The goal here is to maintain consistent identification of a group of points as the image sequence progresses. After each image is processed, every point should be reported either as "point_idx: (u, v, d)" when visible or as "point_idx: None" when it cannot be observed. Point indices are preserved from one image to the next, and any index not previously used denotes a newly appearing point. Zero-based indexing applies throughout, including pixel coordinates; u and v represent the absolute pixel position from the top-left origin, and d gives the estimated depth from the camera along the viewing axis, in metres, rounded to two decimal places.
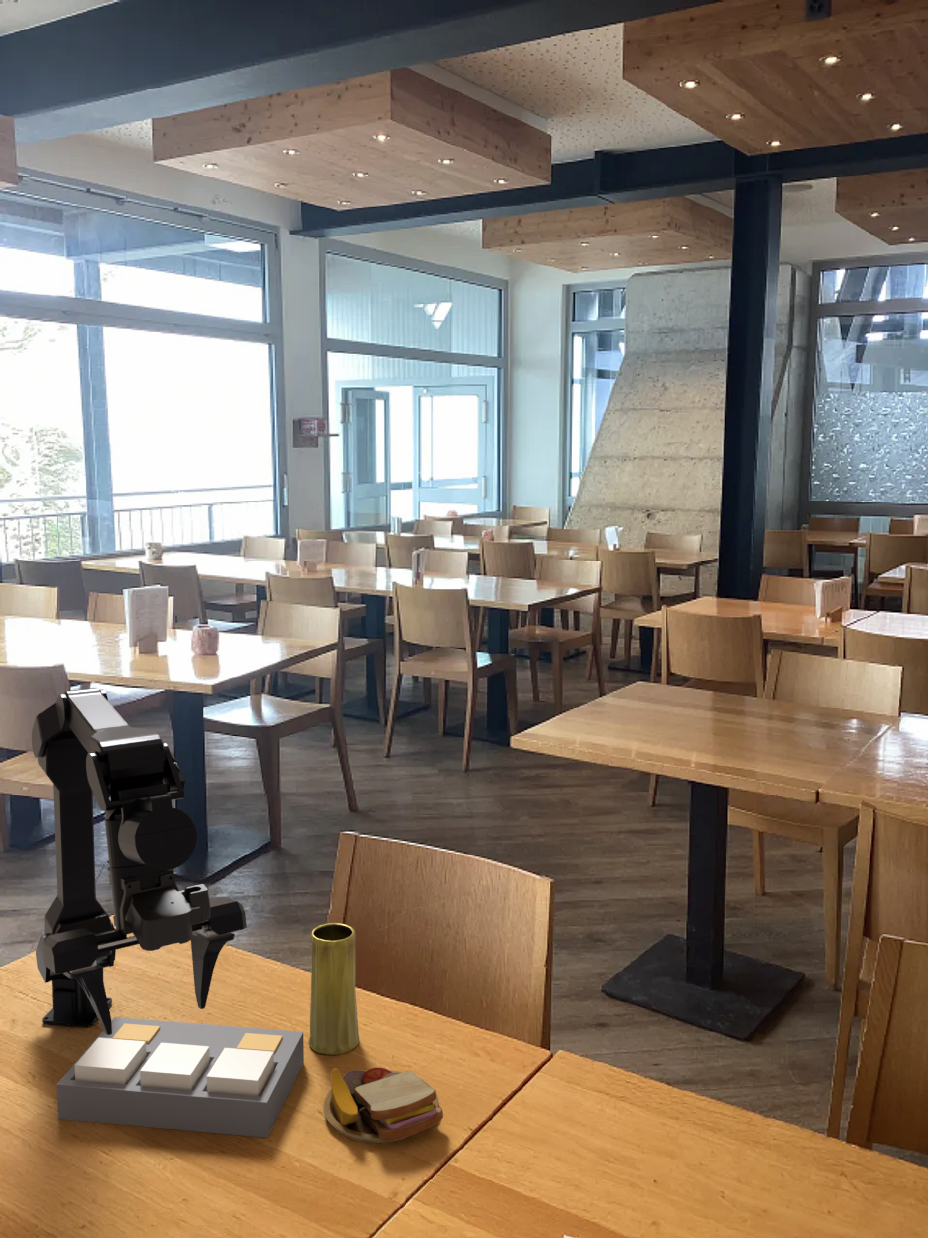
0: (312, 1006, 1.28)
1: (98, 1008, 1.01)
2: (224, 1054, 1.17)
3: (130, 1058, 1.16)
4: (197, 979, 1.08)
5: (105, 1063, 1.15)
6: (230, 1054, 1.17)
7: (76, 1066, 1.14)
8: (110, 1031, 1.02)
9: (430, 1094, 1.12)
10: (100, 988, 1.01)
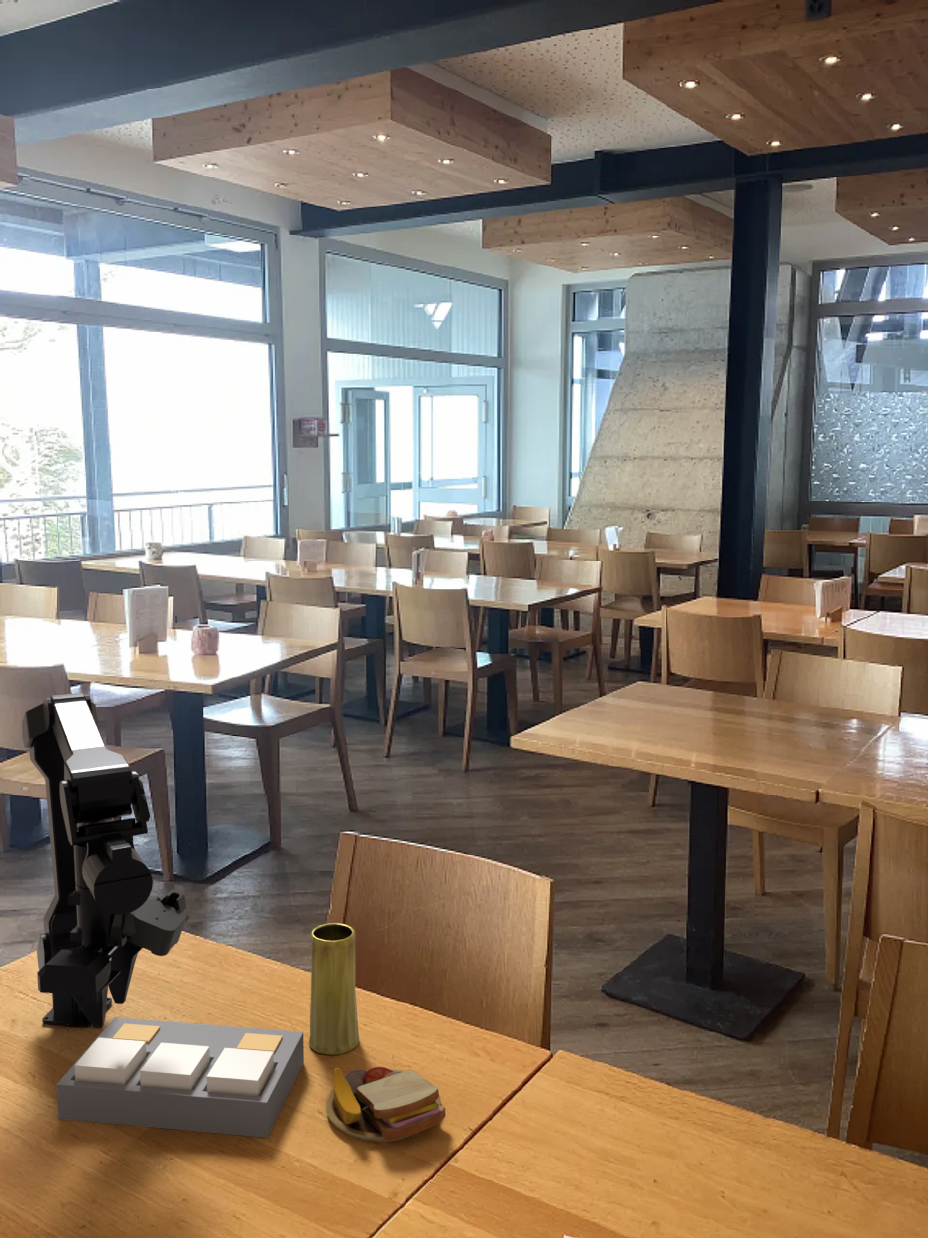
0: (312, 1006, 1.28)
1: (102, 1007, 1.12)
2: (224, 1054, 1.17)
3: (130, 1058, 1.16)
4: (116, 979, 1.18)
5: (105, 1063, 1.15)
6: (230, 1054, 1.17)
7: (76, 1066, 1.14)
8: None
9: (433, 1093, 1.12)
10: (106, 989, 1.12)
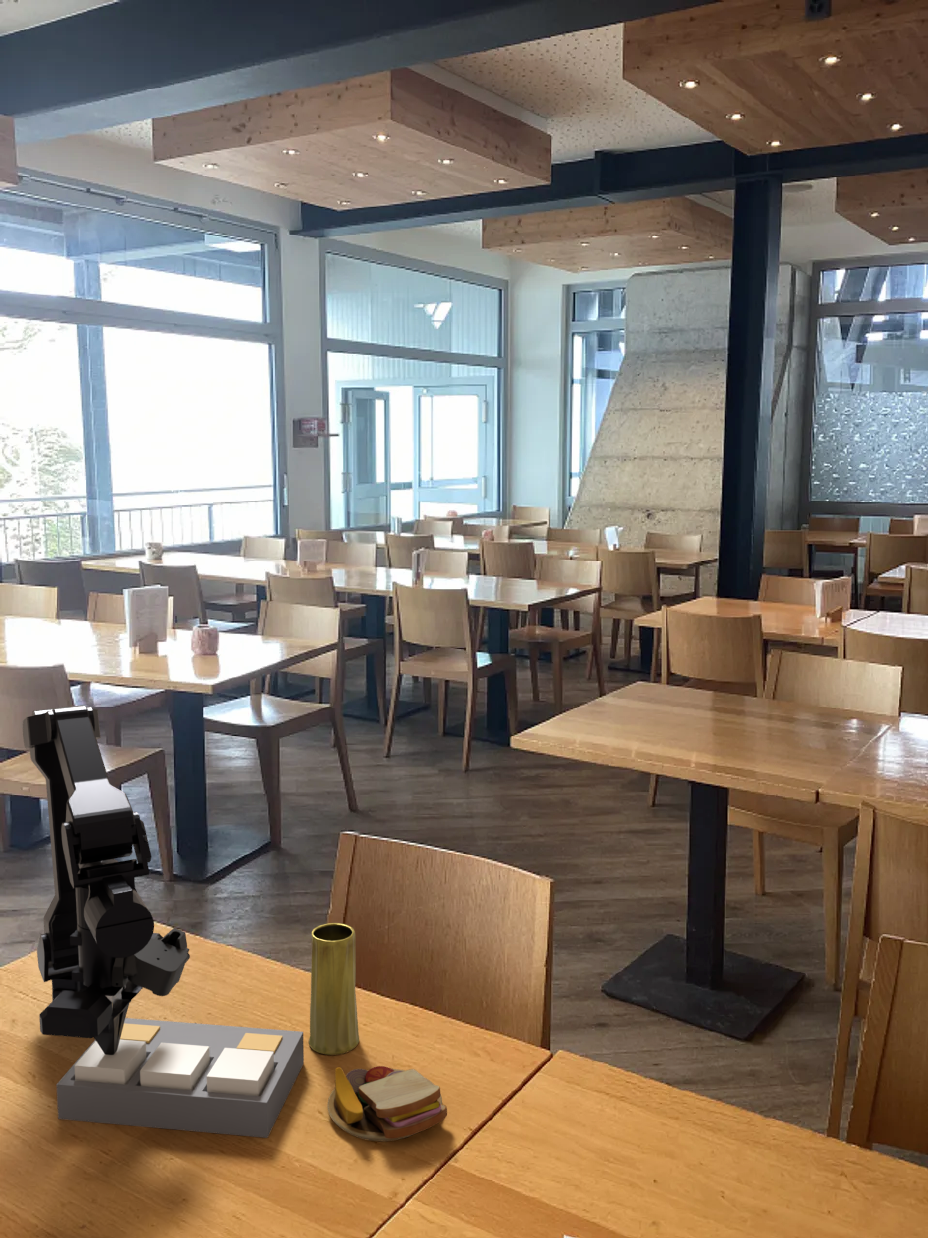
0: (312, 1006, 1.28)
1: (114, 1035, 1.15)
2: (224, 1054, 1.17)
3: (130, 1058, 1.16)
4: None
5: (105, 1063, 1.15)
6: (230, 1054, 1.17)
7: (76, 1066, 1.14)
8: (115, 1051, 1.17)
9: (435, 1092, 1.12)
10: (118, 1018, 1.15)
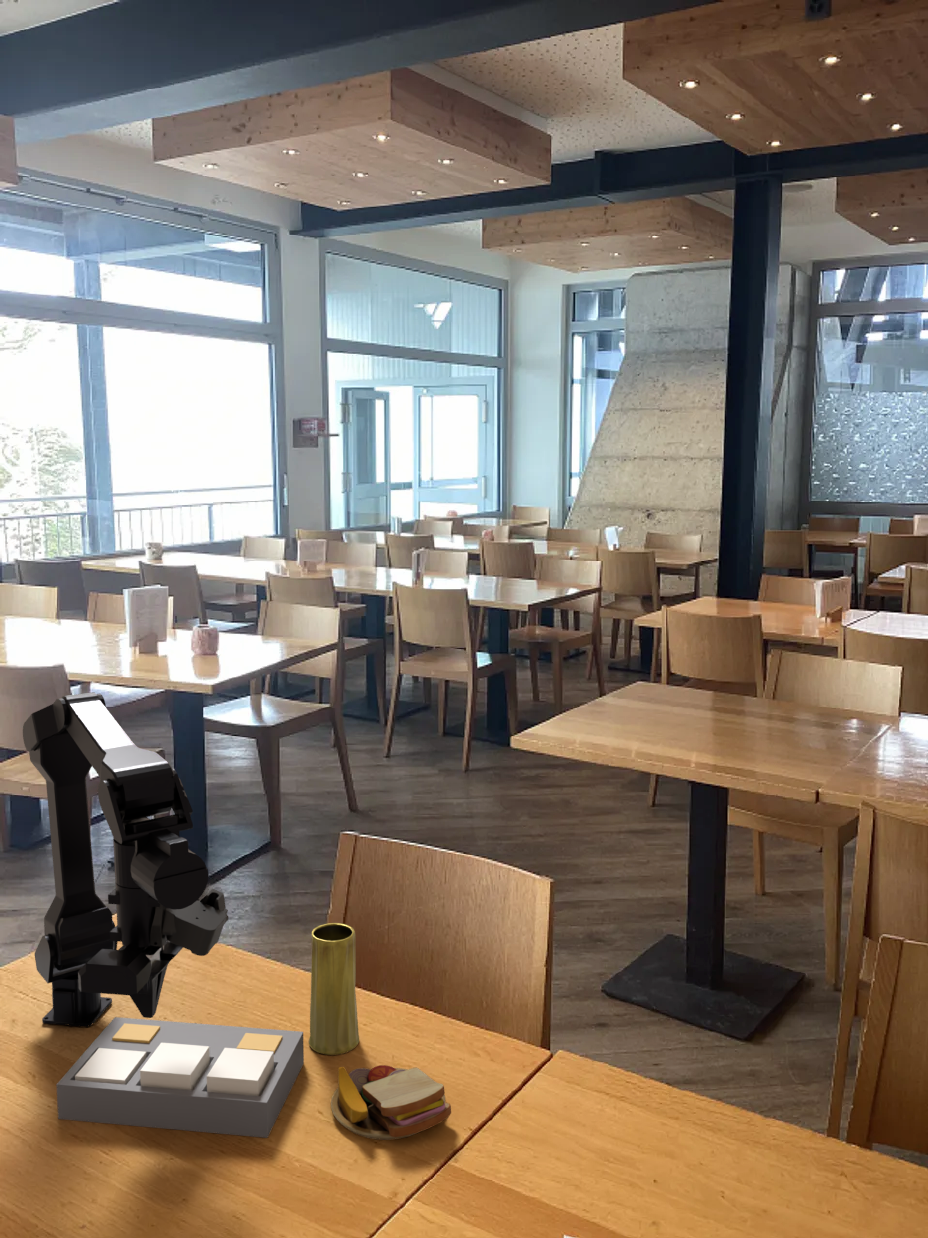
0: (312, 1006, 1.28)
1: (152, 996, 1.14)
2: (224, 1054, 1.17)
3: (130, 1069, 1.16)
4: None
5: (106, 1074, 1.15)
6: (230, 1054, 1.17)
7: (77, 1077, 1.15)
8: (153, 1014, 1.15)
9: (439, 1090, 1.13)
10: (156, 979, 1.13)
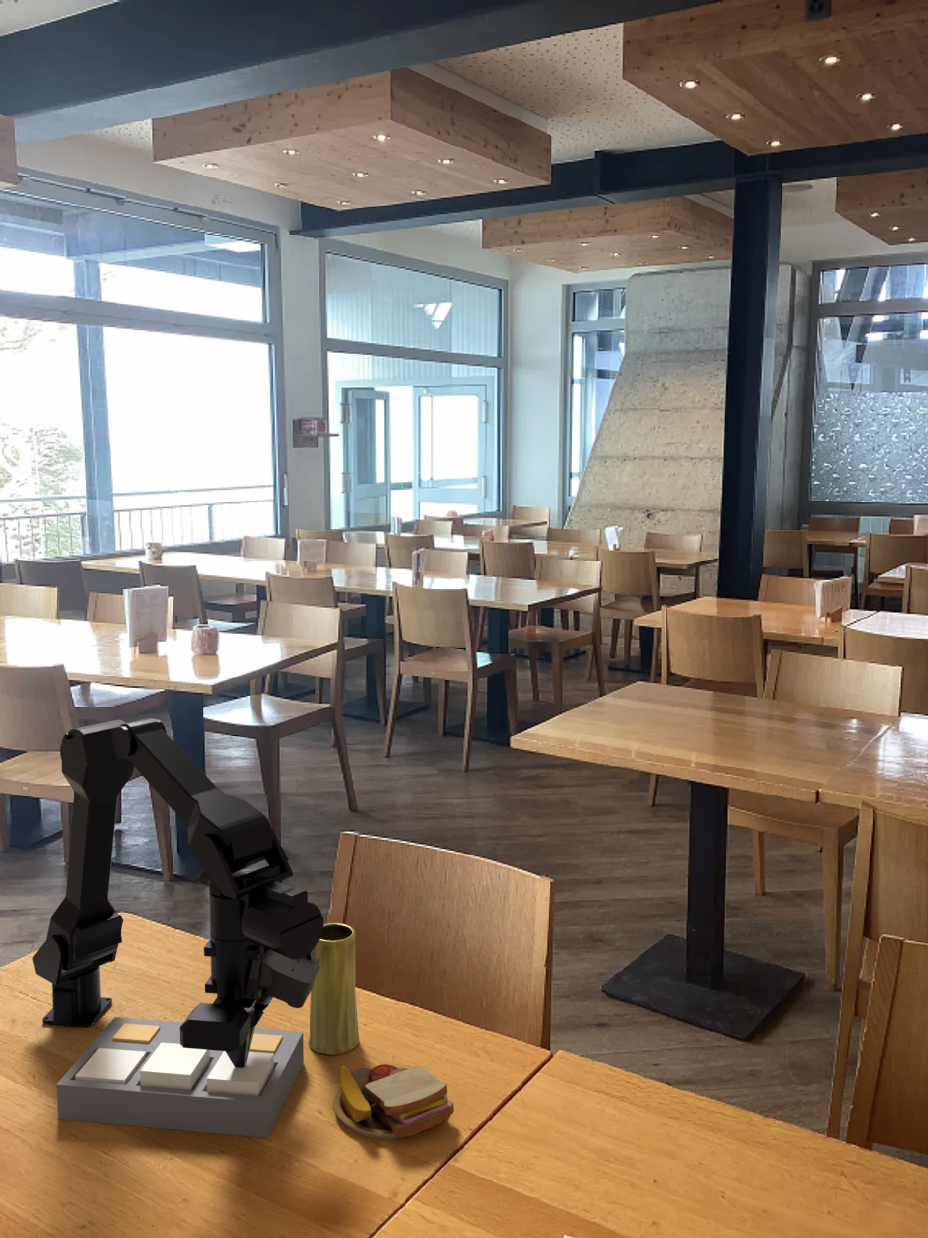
0: (312, 1006, 1.28)
1: (245, 1047, 1.13)
2: (224, 1056, 1.17)
3: (130, 1069, 1.16)
4: None
5: (106, 1074, 1.15)
6: None
7: (77, 1077, 1.15)
8: (245, 1064, 1.15)
9: (442, 1088, 1.13)
10: (249, 1030, 1.13)
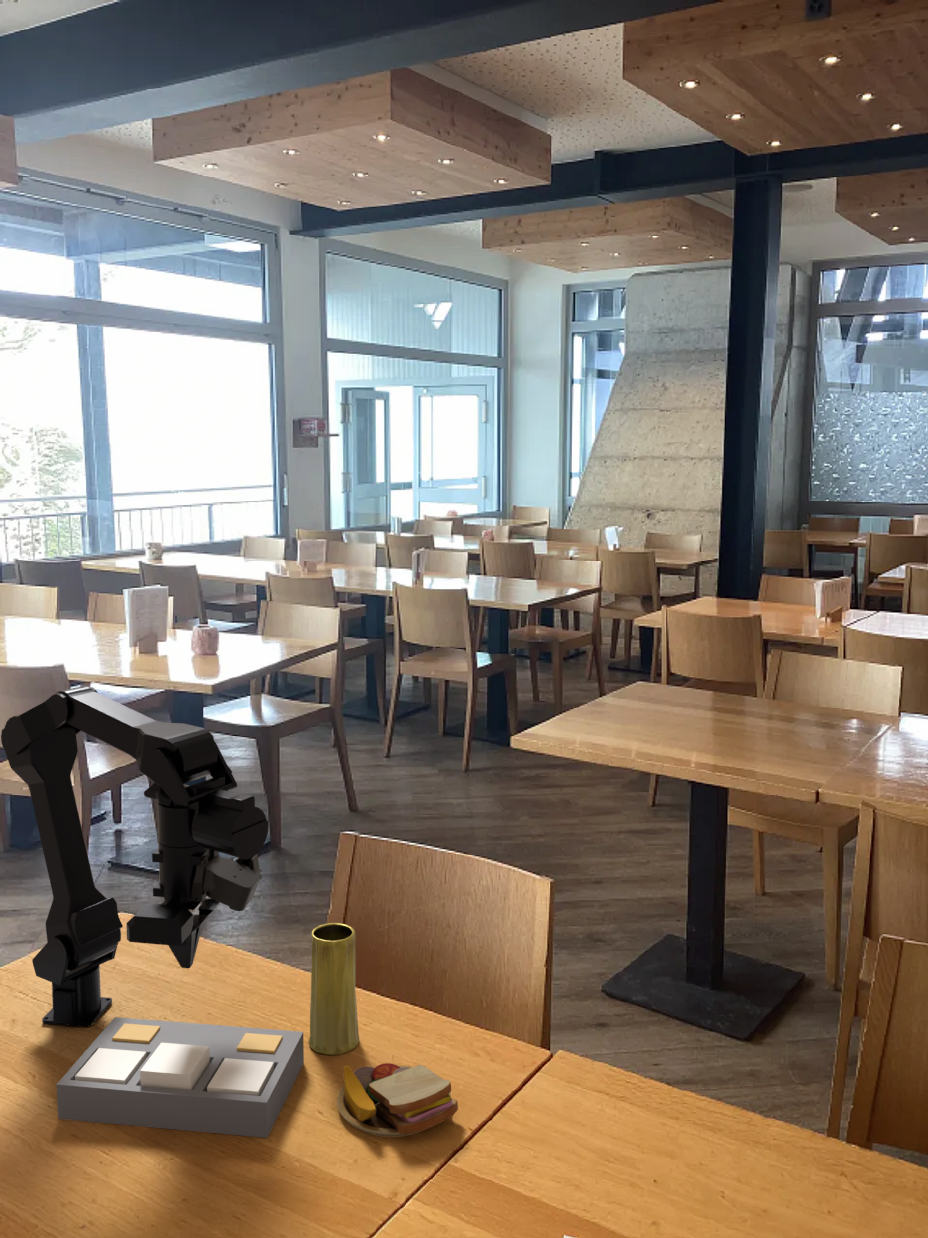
0: (312, 1006, 1.28)
1: (191, 948, 1.22)
2: (224, 1065, 1.17)
3: (130, 1069, 1.16)
4: None
5: (106, 1074, 1.15)
6: (231, 1064, 1.17)
7: (77, 1077, 1.15)
8: (191, 965, 1.23)
9: (446, 1086, 1.13)
10: (195, 932, 1.22)
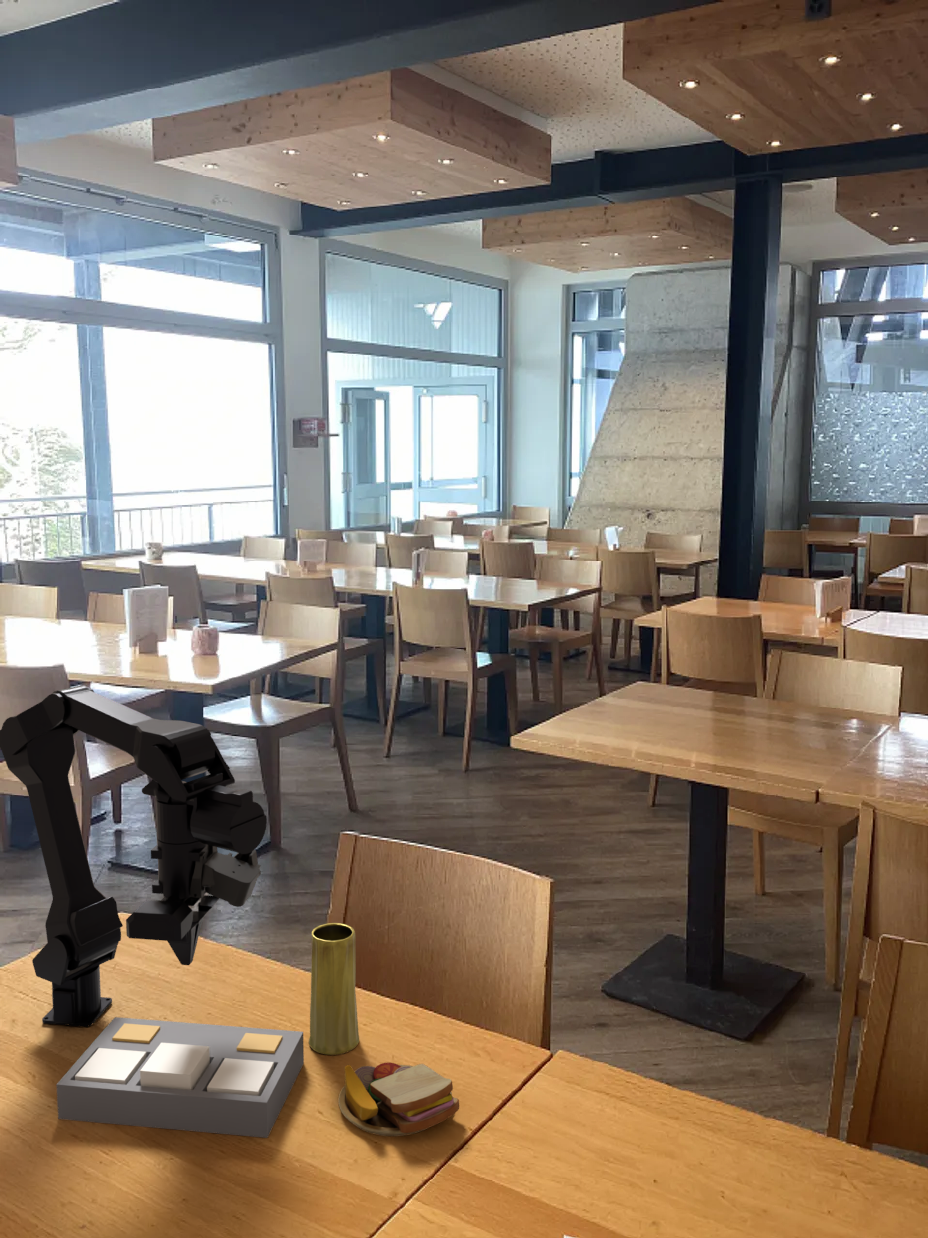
0: (312, 1006, 1.28)
1: (191, 945, 1.22)
2: (224, 1065, 1.17)
3: (130, 1069, 1.16)
4: None
5: (106, 1074, 1.15)
6: (231, 1064, 1.17)
7: (77, 1077, 1.15)
8: (191, 961, 1.24)
9: (448, 1085, 1.13)
10: (194, 929, 1.22)
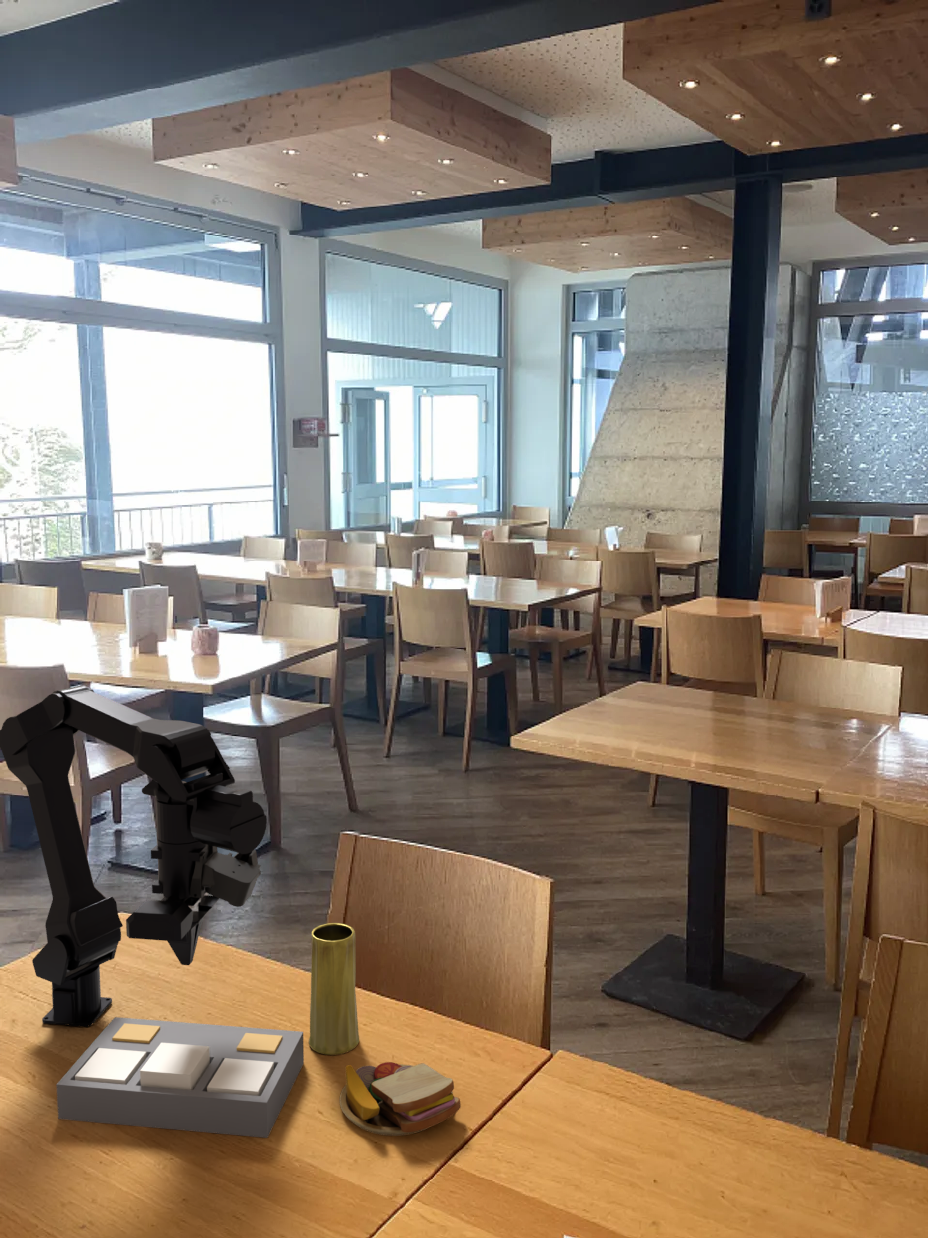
0: (312, 1006, 1.28)
1: (191, 945, 1.22)
2: (224, 1065, 1.17)
3: (130, 1069, 1.16)
4: None
5: (106, 1074, 1.15)
6: (231, 1064, 1.17)
7: (77, 1077, 1.15)
8: (191, 961, 1.24)
9: (449, 1084, 1.14)
10: (194, 929, 1.22)
